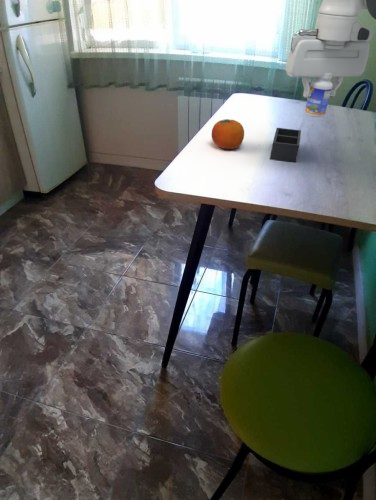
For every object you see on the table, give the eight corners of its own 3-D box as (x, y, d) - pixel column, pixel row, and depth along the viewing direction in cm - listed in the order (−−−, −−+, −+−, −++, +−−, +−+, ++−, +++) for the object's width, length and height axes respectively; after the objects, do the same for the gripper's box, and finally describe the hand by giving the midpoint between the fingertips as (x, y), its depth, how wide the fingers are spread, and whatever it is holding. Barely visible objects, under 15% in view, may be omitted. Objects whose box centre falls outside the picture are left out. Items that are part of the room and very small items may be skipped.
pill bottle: (299, 113, 108) (309, 70, 101) (312, 110, 110) (321, 67, 104) (317, 118, 105) (327, 74, 98) (329, 115, 107) (340, 72, 101)
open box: (297, 146, 139) (301, 130, 136) (295, 162, 128) (299, 145, 125) (273, 143, 141) (276, 127, 137) (269, 159, 130) (272, 142, 126)
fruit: (246, 145, 138) (249, 119, 133) (237, 155, 131) (240, 128, 126) (216, 139, 141) (218, 114, 135) (206, 149, 134) (208, 122, 128)
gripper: (300, 31, 91) (287, 101, 100) (379, 32, 95) (360, 98, 105) (287, 27, 95) (276, 94, 105) (364, 28, 100) (346, 92, 109)
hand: (318, 96), depth 105 cm, fingers closed on pill bottle, 5 cm apart
